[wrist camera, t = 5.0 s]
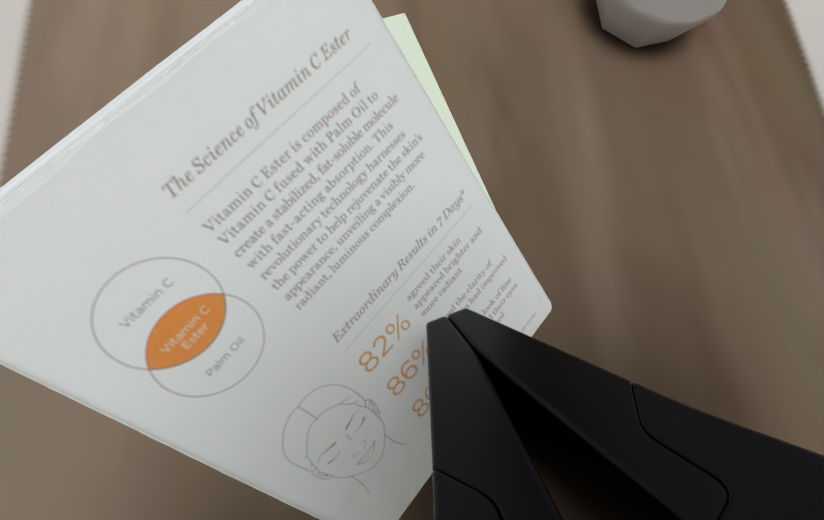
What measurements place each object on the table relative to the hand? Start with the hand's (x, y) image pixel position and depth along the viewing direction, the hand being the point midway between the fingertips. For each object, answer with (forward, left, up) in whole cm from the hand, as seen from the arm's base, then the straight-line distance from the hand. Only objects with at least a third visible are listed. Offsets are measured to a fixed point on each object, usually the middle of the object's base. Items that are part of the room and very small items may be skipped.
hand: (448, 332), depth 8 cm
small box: (-1, 0, -6) cm, 6 cm away
